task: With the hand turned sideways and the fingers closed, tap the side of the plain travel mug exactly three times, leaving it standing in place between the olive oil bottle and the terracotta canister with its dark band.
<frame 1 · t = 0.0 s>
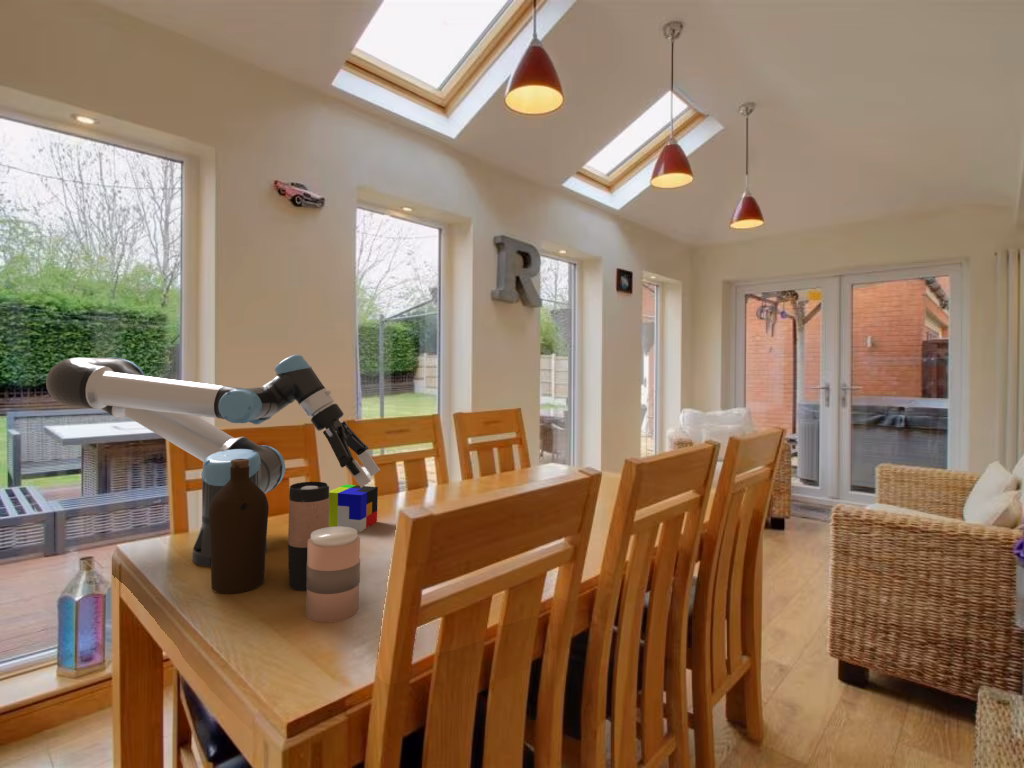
hand: (371, 478, 139), 15 cm above the table, tool tilted 35°, fingers open, 13 cm apart
terracotta canister: (332, 610, 98), on the table
puzzle toy: (352, 526, 149), on the table
olive oil: (238, 585, 108), on the table
travel mug: (307, 584, 110), on the table
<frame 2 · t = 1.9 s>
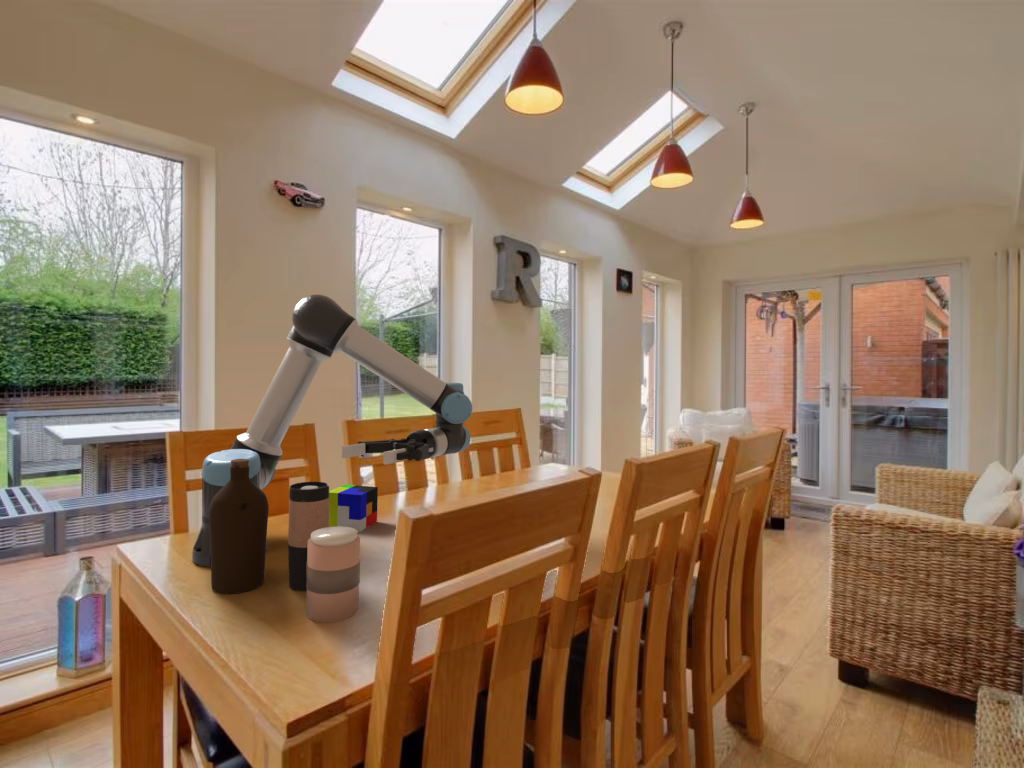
hand: (362, 455, 121), 24 cm above the table, tool horizontal, fingers open, 12 cm apart
nothing on the table moved.
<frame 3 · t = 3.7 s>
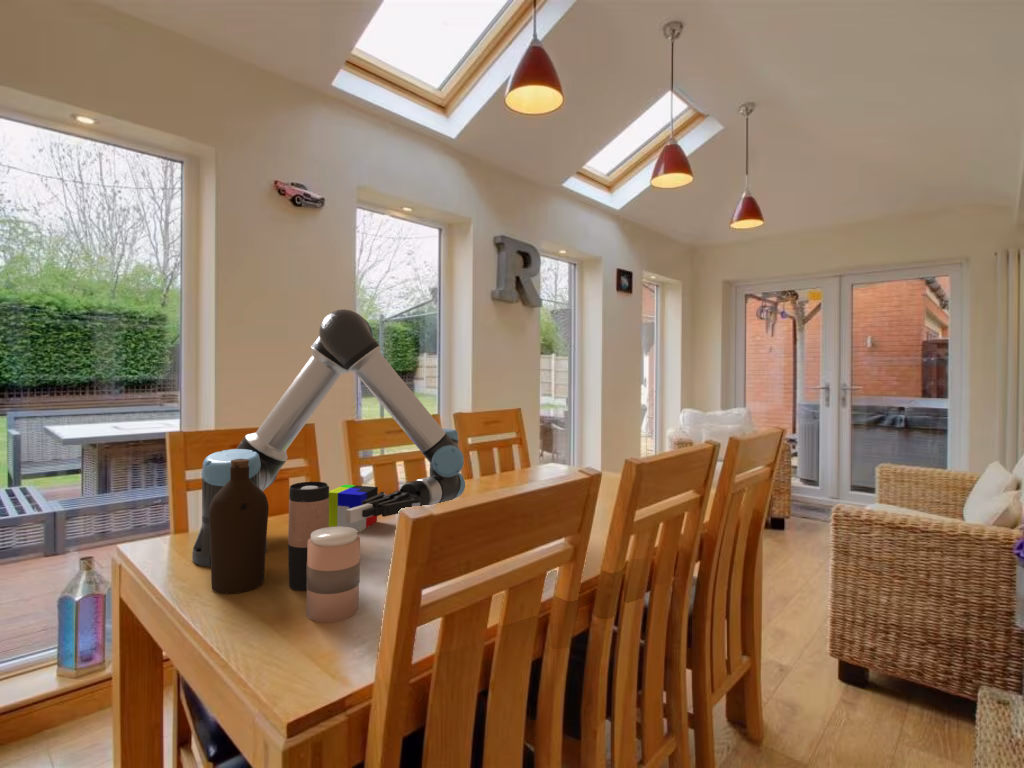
hand: (348, 516, 117), 12 cm above the table, tool horizontal, fingers closed
nothing on the table moved.
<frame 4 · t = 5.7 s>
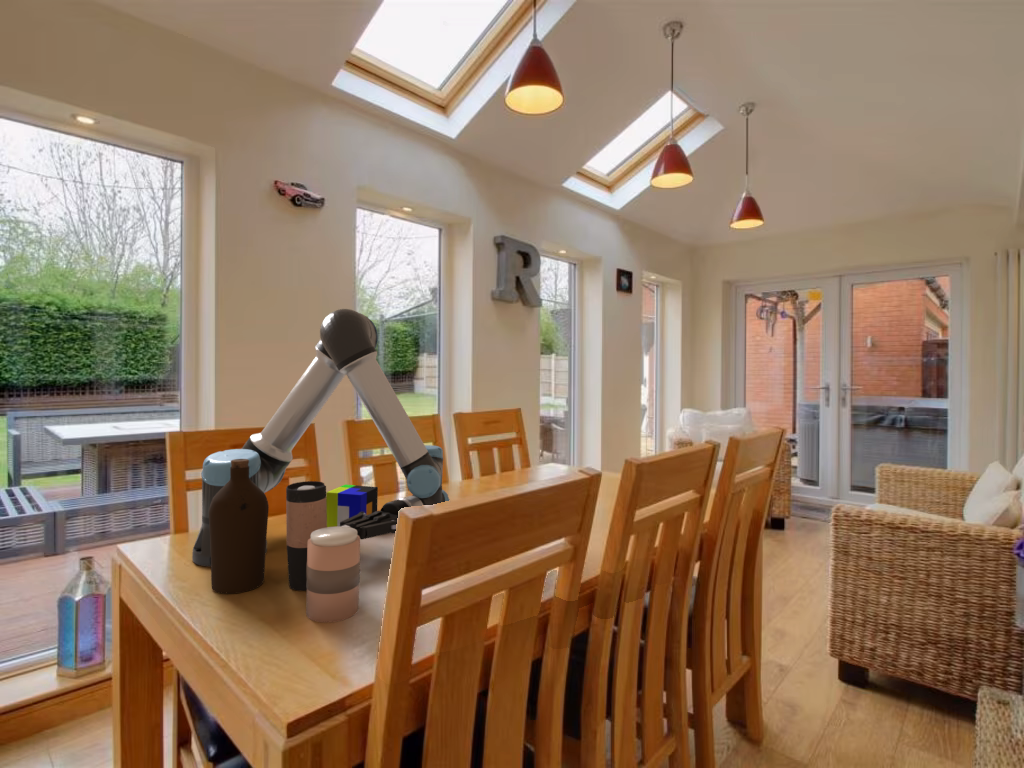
hand: (323, 539, 112), 8 cm above the table, tool horizontal, fingers closed
travel mug: (307, 584, 110), on the table, touching gripper
everything else where it was.
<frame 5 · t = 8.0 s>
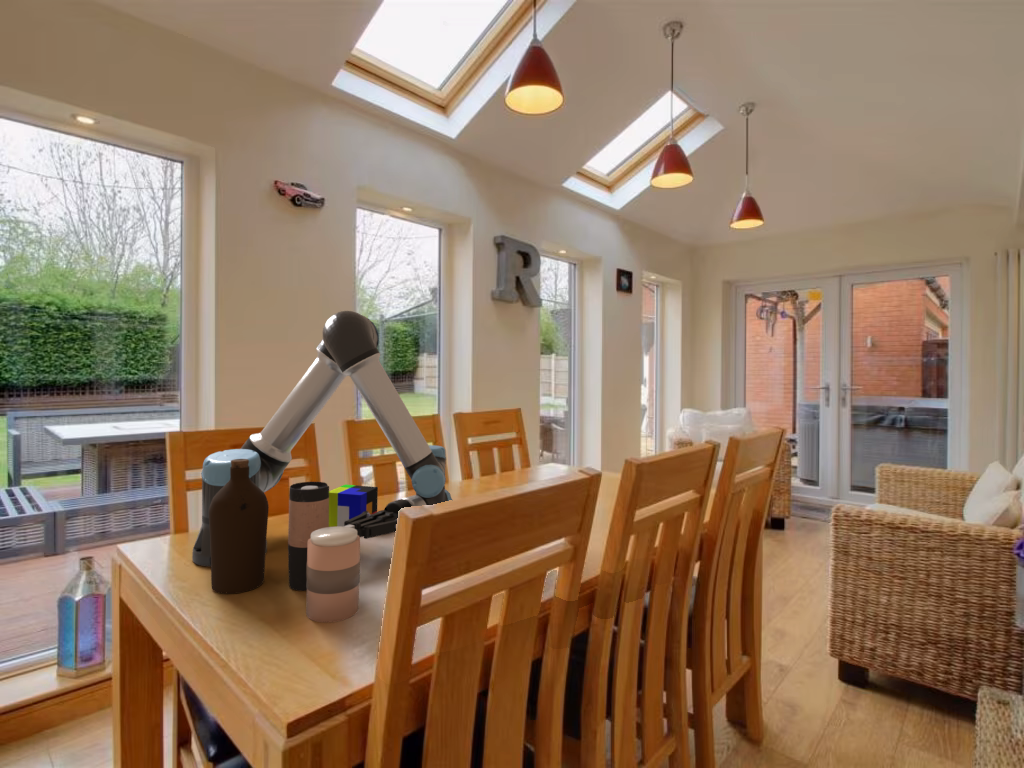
hand: (328, 538, 113), 8 cm above the table, tool horizontal, fingers closed
travel mug: (307, 584, 110), on the table
everything else where it was.
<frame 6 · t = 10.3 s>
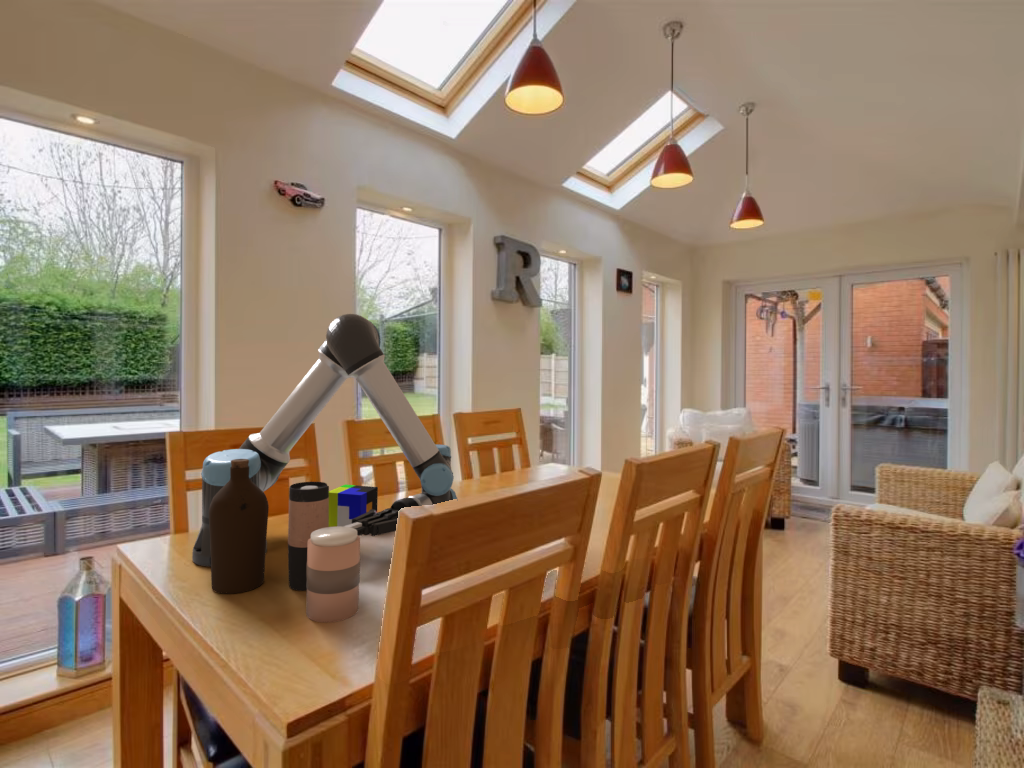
hand: (336, 536, 115), 8 cm above the table, tool horizontal, fingers closed
nothing on the table moved.
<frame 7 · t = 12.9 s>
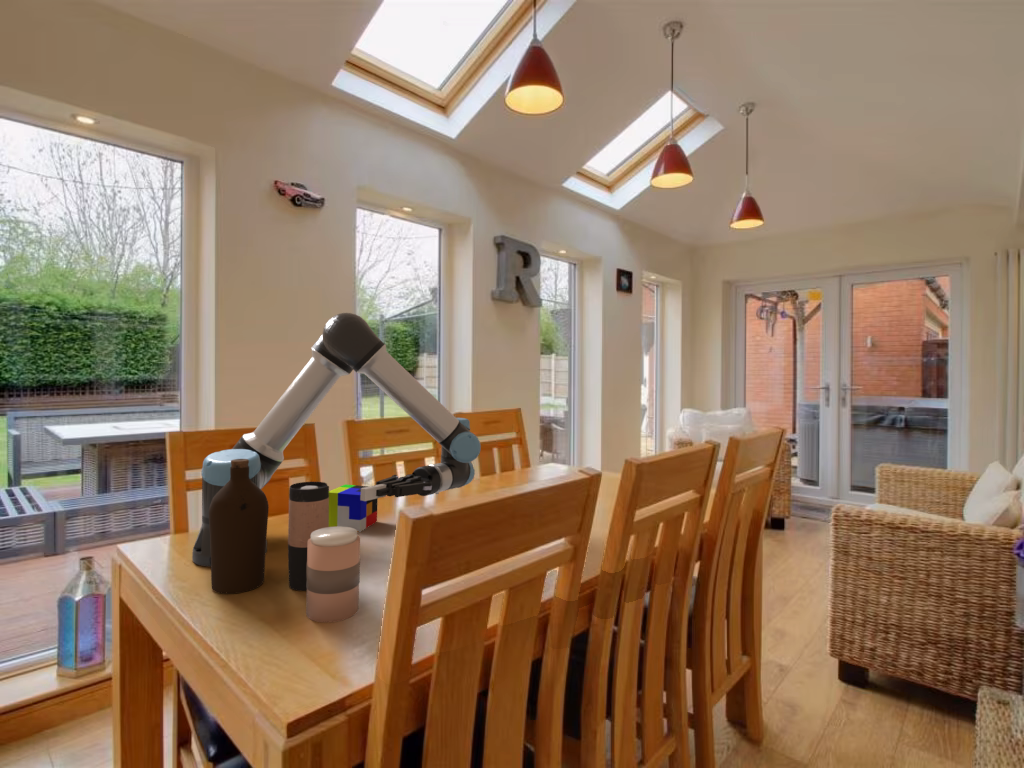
hand: (363, 494, 122), 15 cm above the table, tool horizontal, fingers closed
nothing on the table moved.
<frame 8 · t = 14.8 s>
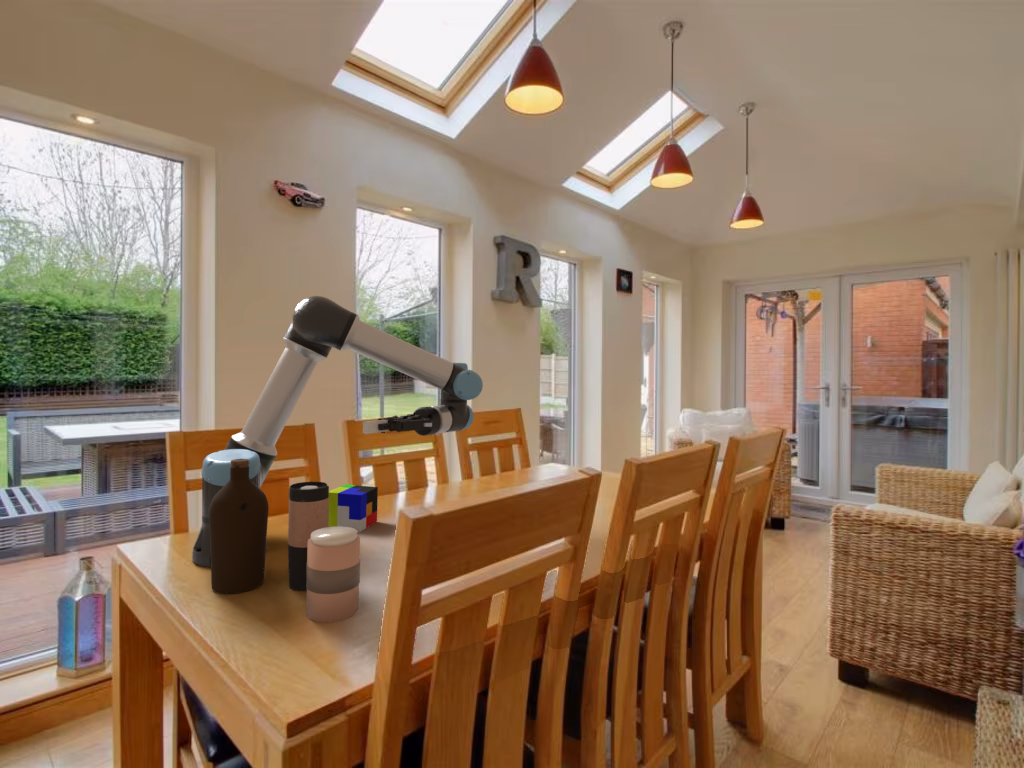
hand: (365, 427, 124), 30 cm above the table, tool horizontal, fingers closed
nothing on the table moved.
at the end: travel mug moved 0.2 cm from its start; travel mug tilted 0°; terracotta canister moved 0.0 cm from its start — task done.
